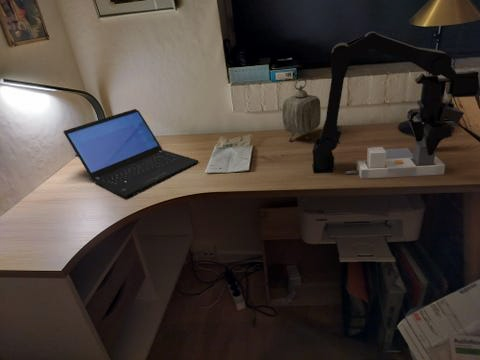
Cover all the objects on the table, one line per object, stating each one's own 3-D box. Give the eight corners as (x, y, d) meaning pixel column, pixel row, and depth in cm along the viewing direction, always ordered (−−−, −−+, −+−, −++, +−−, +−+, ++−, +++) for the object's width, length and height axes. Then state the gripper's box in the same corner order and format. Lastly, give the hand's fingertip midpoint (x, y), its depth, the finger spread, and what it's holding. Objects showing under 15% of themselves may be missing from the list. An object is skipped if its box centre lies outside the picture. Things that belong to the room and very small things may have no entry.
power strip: (347, 179, 105) (348, 169, 103) (344, 169, 111) (344, 159, 109) (443, 174, 100) (445, 163, 99) (434, 164, 106) (436, 154, 105)
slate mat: (385, 162, 112) (385, 161, 112) (378, 151, 121) (378, 149, 120) (417, 160, 110) (417, 159, 110) (407, 149, 119) (407, 148, 119)
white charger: (369, 176, 105) (370, 153, 101) (366, 170, 109) (367, 147, 105) (384, 175, 104) (386, 152, 101) (380, 169, 108) (382, 146, 104)
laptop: (126, 201, 111) (108, 147, 102) (79, 176, 135) (61, 131, 126) (200, 163, 131) (191, 116, 122) (148, 147, 155) (137, 107, 147)
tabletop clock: (305, 131, 148) (303, 74, 136) (322, 135, 141) (322, 75, 130) (284, 142, 140) (280, 81, 128) (301, 146, 133) (298, 83, 122)
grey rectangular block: (416, 174, 103) (420, 147, 99) (411, 167, 107) (414, 141, 102) (432, 173, 102) (436, 146, 98) (426, 166, 106) (430, 140, 102)
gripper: (480, 104, 84) (468, 160, 92) (448, 88, 101) (440, 136, 108) (433, 108, 86) (424, 162, 93) (409, 91, 103) (403, 138, 110)
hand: (424, 149), depth 101 cm, fingers open, 9 cm apart
